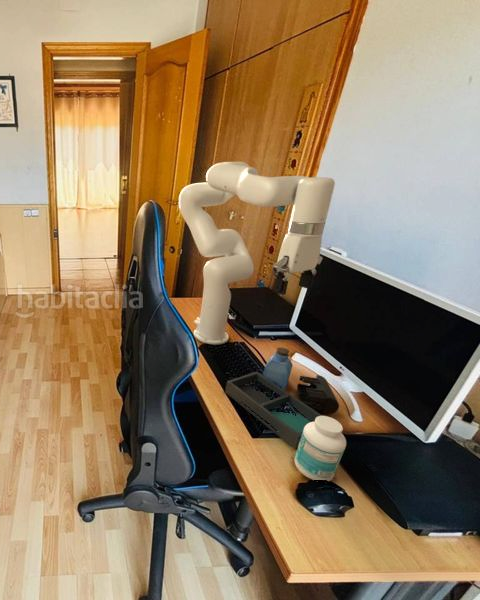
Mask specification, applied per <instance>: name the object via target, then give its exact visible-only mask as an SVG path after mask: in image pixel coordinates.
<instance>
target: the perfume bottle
mask: <svg viewBox="0 0 480 600" xmlns="http://www.w3.org/2000/svg"><path fill="white" fill-rule="evenodd" d="M289 353H290V349H288V348H287V347H283V346H279V347H277V348H276V350H275V353H274V354H273V355H272V356H271V357H269V359H268V361H267V362H266V364H265V366H264V369H263V373H262V375H263V376H264V377H266V378H267V379H269V380H270V381H272V382H274V383H276V384H277V385H278V386H279V387H281V388H282V389H283V390H285V391H286V388H287V385H288V383H289V381H290V380H289V379H290V377H291V372H292V369H293V366H294V365H293V363H292V361H291V358H289V356H290V354H289Z"/></svg>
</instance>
